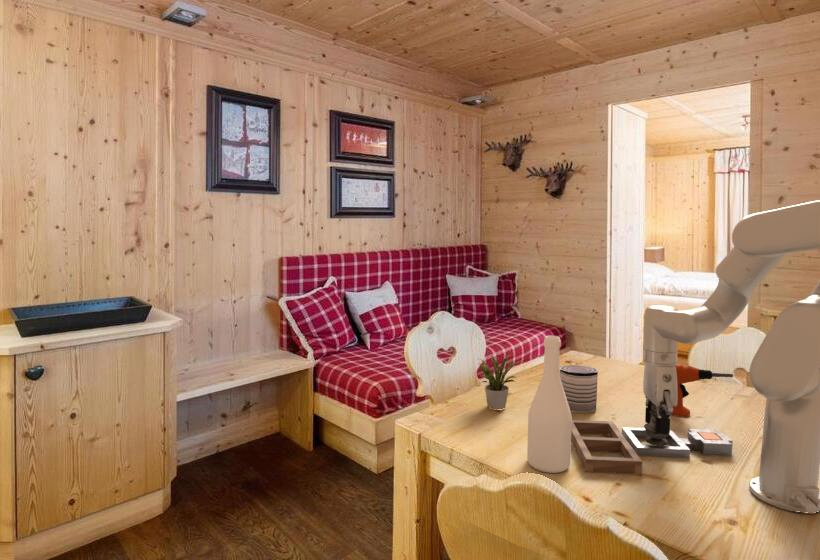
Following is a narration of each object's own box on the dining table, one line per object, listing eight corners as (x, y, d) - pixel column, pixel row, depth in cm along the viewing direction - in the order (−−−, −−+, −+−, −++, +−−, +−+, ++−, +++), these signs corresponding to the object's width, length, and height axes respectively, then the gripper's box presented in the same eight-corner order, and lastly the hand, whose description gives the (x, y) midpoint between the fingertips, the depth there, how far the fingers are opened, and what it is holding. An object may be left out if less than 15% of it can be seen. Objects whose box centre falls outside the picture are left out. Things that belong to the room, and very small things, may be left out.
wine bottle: (562, 454, 124) (566, 332, 120) (576, 474, 114) (581, 341, 110) (522, 455, 123) (525, 332, 120) (533, 475, 114) (537, 342, 110)
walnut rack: (641, 474, 114) (642, 461, 114) (585, 471, 115) (586, 459, 115) (612, 432, 136) (612, 421, 136) (565, 430, 137) (566, 419, 137)
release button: (721, 450, 125) (721, 439, 125) (704, 449, 125) (705, 439, 125) (713, 443, 129) (714, 433, 128) (697, 442, 129) (698, 432, 129)
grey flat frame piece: (739, 459, 121) (740, 447, 120) (637, 455, 123) (637, 443, 123) (715, 438, 132) (715, 426, 132) (621, 434, 135) (622, 423, 134)
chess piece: (647, 434, 132) (648, 389, 130) (672, 440, 128) (674, 393, 127) (640, 442, 127) (642, 395, 126) (666, 448, 123) (668, 400, 122)
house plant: (522, 399, 161) (523, 348, 159) (527, 416, 147) (529, 360, 145) (475, 398, 162) (476, 347, 160) (477, 414, 148) (478, 359, 146)
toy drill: (736, 421, 139) (732, 367, 138) (659, 415, 150) (655, 365, 149) (736, 416, 143) (732, 362, 142) (662, 410, 154) (657, 361, 153)
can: (556, 410, 152) (557, 370, 150) (558, 397, 162) (559, 360, 161) (597, 415, 148) (599, 374, 147) (596, 401, 159) (598, 363, 157)
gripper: (691, 366, 116) (688, 443, 118) (662, 348, 133) (659, 415, 135) (657, 366, 117) (654, 442, 119) (632, 347, 134) (629, 414, 136)
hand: (657, 427), depth 127 cm, fingers closed on chess piece, 5 cm apart
